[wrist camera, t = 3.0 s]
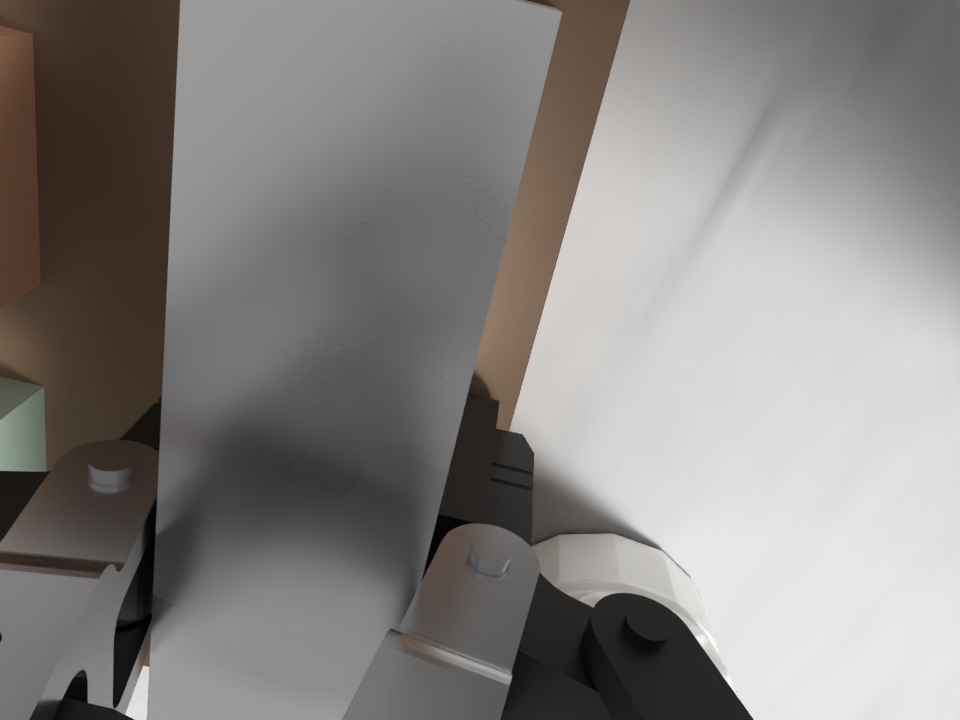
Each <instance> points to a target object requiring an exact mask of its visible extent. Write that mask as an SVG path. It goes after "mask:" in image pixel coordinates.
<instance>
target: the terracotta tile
mask: <svg viewBox="0 0 960 720" xmlns="http://www.w3.org/2000/svg"><path fill="white" fill-rule="evenodd" d="M39 285H41V277H40V245H39V213H38V181H37V149H36V117H35V85H34V53H33V34H32V33H28V32H24V31H19V30H15V29H11V28H7V27H3V26H0V307H2V306H4V305H5V304H7V303H9V302H11V301H13V300H14V299H16V298H18V297H20V296H22V295H23V294H25V293H27V292H29V291H30V290H32V289H34V288H36V287H38V286H39Z"/></svg>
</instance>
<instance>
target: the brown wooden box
mask: <svg viewBox="0 0 960 720" xmlns="http://www.w3.org/2000/svg"><path fill="white" fill-rule="evenodd" d="M527 1H531V2H535V3H539V4H543V5H547V6H551V7H555V8H557V9H558V10H560V11H561V12H562V15H561V19H560V23H559V27H558V31H557V35H556V39H555V44H554V48H553V52H552V56H551V60H550V64H549V68H548V72H547V76H546V80H545V84H544V88H543V92H542V96H541V100H540V104H539V108H538V112H537V116H536V120H535V124H534V128H533V132H532V136H531V140H530V144H529V148H528V153H527V157H526V161H525V165H524V169H523V173H522V177H521V181H520V185H519V189H518V193H517V197H516V201H515V205H514V209H513V213H512V217H511V221H510V225H509V229H508V233H507V237H506V241H505V245H504V249H503V253H502V257H501V262H500V266H499V270H498V274H497V278H496V282H495V286H494V290H493V294H492V298H491V302H490V306H489V310H488V314H487V318H486V322H485V326H484V330H483V334H482V338H481V342H480V346H479V350H478V354H477V358H476V362H475V366H474V371H473V375H472V379H471V383H470V387H469V391H468V393H470V394H474V395H478V396H483V397H487V398H491V399H495V400H499V410H498V418H497V426H496V428H497V429H501V430H505V431H509V429H510V425H511V422H512V418H513V414H514V411H515V407H516V404H517V400H518V397H519V393H520V390H521V386H522V382H523V379H524V375H525V372H526V368H527V365H528V361H529V358H530V354H531V351H532V347H533V343H534V340H535V336H536V333H537V329H538V326H539V322H540V319H541V315H542V312H543V308H544V304H545V301H546V297H547V294H548V290H549V287H550V283H551V280H552V276H553V272H554V269H555V265H556V262H557V258H558V255H559V251H560V248H561V244H562V241H563V237H564V233H565V230H566V226H567V223H568V219H569V216H570V212H571V209H572V205H573V201H574V198H575V194H576V191H577V187H578V184H579V180H580V177H581V173H582V170H583V166H584V162H585V159H586V155H587V152H588V148H589V145H590V141H591V138H592V134H593V130H594V127H595V123H596V120H597V116H598V113H599V109H600V106H601V102H602V99H603V95H604V91H605V88H606V84H607V81H608V77H609V74H610V70H611V67H612V63H613V60H614V56H615V52H616V49H617V45H618V42H619V38H620V35H621V31H622V28H623V24H624V20H625V17H626V13H627V10H628V6H629V3H630V0H527ZM179 16H180V0H0V26H3V27H7V28H11V29H15V30H19V31H24V32H28V33H32V34H33V53H34V85H35V117H36V149H37V181H38V213H39V245H40V277H41V285H39V286H38V287H36V288H34V289H32V290H30V291H29V292H27V293H25V294H23V295H22V296H20V297H18V298H16V299H14V300H13V301H11V302H9V303H7V304H5V305H4V306H2V307H0V376H1V377H5V378H9V379H13V380H18V381H22V382H26V383H30V384H35V385H39V386H43V387H44V404H45V436H46V468H47V471H51V470H52V468H53V467H54V465H55V464H56V462H57V461H58V460H59V459H60V458H61V457H62V456H63V455H65V454H66V453H67V452H69V451H71V450H72V449H74V448H77V447H79V446H81V445H85V444H88V443H92V442H97V441H104V440H119V439H120V438H121V437H122V436H123V435H124V434H125V433H126V432H127V431H128V430H129V429H130V428H131V427H132V426H133V425H134V424H135V423H136V422H137V421H138V420H139V419H140V418H141V417H142V415H143V414H144V413H145V412H146V411H147V410H148V409H149V408H150V407H151V406H152V405H153V404H154V403H155V402H157V403H158V400H159V398H160V397H161V396H162V384H163V362H164V341H165V319H166V297H167V276H168V254H169V232H170V211H171V189H172V168H173V146H174V124H175V103H176V81H177V59H178V38H179ZM143 665H144V666H149V665H150V648H149V651H148V654H147V656H146V659H145V662H144V664H143Z"/></svg>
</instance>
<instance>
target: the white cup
mask: <svg viewBox="0 0 960 720" xmlns="http://www.w3.org/2000/svg"><path fill="white" fill-rule="evenodd" d="M531 548H532V549H533V550H534V552H535V554H536V556H537V558H538V561H539V566H540V572H541V574H542V575H543V576H544V577H545V578H546V579H547V580H548V581H549V582H550V583H551V584H552V585H554V586H555V587H556V588H558V589H559V590H561V591H562V592H564V593H565V594H567V595H569V596H571V597H573V598H575V599H577V600H579V601H581V602H583V603H585V604H587V605H589V606H591V607H593V608H594V606H595V604H596V603H597V602H598V601H599V600H600V599H602V598H603V597H605V596H608V595H610V594H615V593H632V594H638V595H642V596H645V597H648V598H650V599H653V600H655V601H657V602H659V603H661V604H663V605H664V606H666V607H667V608H669V609H670V610H671V611H673V612H674V613H675V614H677V615H678V616H679V617H680V618H681V619H682V620H683V621H684V623H685V624H686V625H687V626H688V628H689V629H690V630H691V632H692V633H693V635H694V636H695V638H696V639H697V640H698V642H699V643H700V645H701V646H702V647H703V649H704V650H705V652H706V653H707V655H708V656H709V657H710V659H711V660H712V662H713V663H714V664H715V666H716V667H717V669H718V670H719V672H720V673H721V674H722V676H723V677H724V679H725V680H726V681H727V683H728V684H729V686H730V687H731V688H732V690H733V691H734V693H735V694H736V696H737V697H738V698H739V695H738V693H737V691H736V688H735V686H734V683H733V679H732V675H731V673H730V672H729V671H728V669H727V668H726V666H725V664H724V662H723V661H722V659H721V656H720V653H719V650H718V648H717V645H716V643H715V640H714V638H713V635H712V632H711V628H710V625H709V622H708V619H707V616H706V612H705V609H704V606H703V603H702V599H701V596H700V593H699V590H698V587H697V585H696V583H695V582H694V581H693V580H692V579H691V578H690V577H689V576H688V575H687V574H686V573H684V572H683V571H682V570H681V569H680V568H679V567H678V566H677V565H676V564H675V563H674V562H673V561H672V560H671V559H670V558H669V557H668V556H667V555H666V554H665V553H664V552H663V551H661V550H658V549H656V548H653V547H650V546H647V545H644V544H642V543H639V542H636V541H633V540H631V539H628V538H625V537H622V536H619V535H617V534H613V533H603V534H563V535H557V536H555V537H553V538H550V539H548V540H545V541H543V542H541V543H538V544H536V545H534V546H531ZM739 700H740V698H739Z"/></svg>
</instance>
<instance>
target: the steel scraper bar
mask: <svg viewBox="0 0 960 720" xmlns="http://www.w3.org/2000/svg"><path fill="white" fill-rule="evenodd" d="M561 15H562V12H561V11H560V10H558V9H557V8H555V7H551V6H547V5H543V4H539V3H535V2H531V1H527V0H180V16H179V38H178V59H177V81H176V103H175V124H174V146H173V168H172V189H171V211H170V232H169V254H168V276H167V297H166V319H165V341H164V362H163V384H162V406H161V427H160V449H159V471H158V492H157V514H156V536H155V557H154V579H153V600H152V622H151V644H150V665H149V687H148V709H147V720H342V718H343V716H344V714H345V712H346V710H347V708H348V706H349V705H350V703H351V701H352V699H353V697H354V695H355V693H356V691H357V689H358V687H359V685H360V683H361V681H362V679H363V677H364V675H365V673H366V671H367V669H368V667H369V665H370V663H371V662H372V660H373V658H374V656H375V654H376V652H377V650H378V648H379V646H380V644H381V642H382V640H383V638H384V637H385V635H386V633H387V632H388V631H389V630H390V629H395V630H398V628H399V626H400V624H401V622H402V620H403V618H404V616H405V614H406V612H407V610H408V608H409V606H410V604H411V602H412V600H413V598H414V596H415V594H416V592H417V590H418V588H419V586H420V584H421V580H422V576H423V572H424V568H425V564H426V560H427V556H428V552H429V548H430V544H431V540H432V536H433V532H434V528H435V524H436V520H437V516H438V512H439V508H440V504H441V500H442V496H443V492H444V488H445V484H446V480H447V475H448V471H449V467H450V463H451V459H452V455H453V451H454V447H455V443H456V439H457V435H458V431H459V427H460V423H461V419H462V415H463V411H464V407H465V403H466V399H467V395H468V391H469V387H470V383H471V379H472V375H473V371H474V366H475V362H476V358H477V354H478V350H479V346H480V342H481V338H482V334H483V330H484V326H485V322H486V318H487V314H488V310H489V306H490V302H491V298H492V294H493V290H494V286H495V282H496V278H497V274H498V270H499V266H500V262H501V257H502V253H503V249H504V245H505V241H506V237H507V233H508V229H509V225H510V221H511V217H512V213H513V209H514V205H515V201H516V197H517V193H518V189H519V185H520V181H521V177H522V173H523V169H524V165H525V161H526V157H527V153H528V148H529V144H530V140H531V136H532V132H533V128H534V124H535V120H536V116H537V112H538V108H539V104H540V100H541V96H542V92H543V88H544V84H545V80H546V76H547V72H548V68H549V64H550V60H551V56H552V52H553V48H554V44H555V39H556V35H557V31H558V27H559V23H560V19H561Z"/></svg>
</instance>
